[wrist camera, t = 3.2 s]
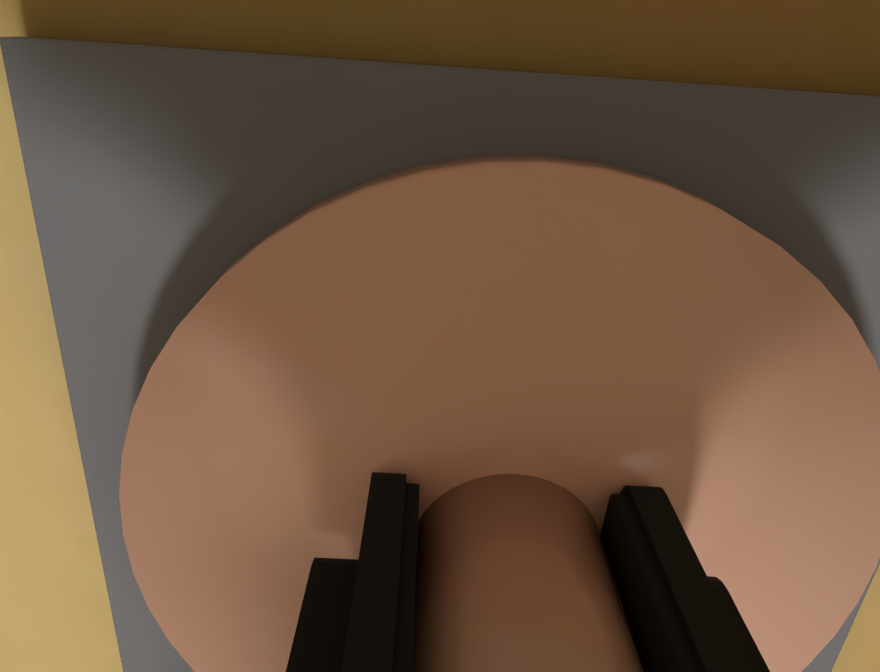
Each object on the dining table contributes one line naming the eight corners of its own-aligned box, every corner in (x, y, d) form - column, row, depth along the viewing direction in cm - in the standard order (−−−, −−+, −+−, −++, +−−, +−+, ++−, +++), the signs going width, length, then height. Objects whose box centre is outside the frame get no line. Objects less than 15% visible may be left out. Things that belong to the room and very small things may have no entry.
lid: (975, 179, 9) (1623, 350, 4) (755, 747, 14) (925, 1133, 9) (90, 129, 9) (-362, 251, 4) (185, 728, 14) (45, 1116, 9)
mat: (1044, 107, 9) (1081, 111, 9) (770, 751, 15) (783, 778, 14) (26, 36, 9) (-1, 36, 8) (150, 727, 15) (140, 754, 14)
